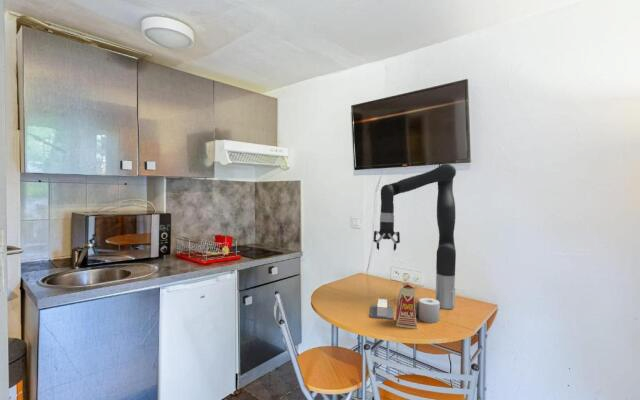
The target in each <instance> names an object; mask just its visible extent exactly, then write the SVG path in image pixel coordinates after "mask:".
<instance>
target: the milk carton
mask: <svg viewBox="0 0 640 400" xmlns="http://www.w3.org/2000/svg"><path fill="white" fill-rule="evenodd" d="M404 282H405V283H403V285H401V286H400V288H399V294H398V298H397V304H396V310H395V311H396V313H395V321H396V327H401V328H408V329H417V330H418V322H417V321H418V320H417V316H416V313H415V305H416V303H415V302H416V301H415V298H416V297H415V296H416V294H415V293H416V292H415V291H416V289H415V287H413V286H411V285H410V284H409V283H410V282H409V281H406V280H405V281H404Z"/></svg>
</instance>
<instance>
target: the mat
mask: <svg viewBox="0 0 640 400" xmlns="http://www.w3.org/2000/svg"><path fill="white" fill-rule="evenodd" d="M377 306H378V304H371V308H370V313H369V318H373V319H374V318H375V319H380V320H381V319H383V320H391V321H392V320H393V321H394V319H395V318H394V315H395V314H394V306H389V305H387V317H382V316H377Z"/></svg>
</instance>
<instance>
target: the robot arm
mask: <svg viewBox="0 0 640 400" xmlns="http://www.w3.org/2000/svg"><path fill="white" fill-rule="evenodd" d="M456 175H457V169H456V167H455V166H454V165H453V164H451V163H443V164H441V165H439V166H438V167H435V168H434V169H432V170H429V171H427V172H423V173H421V174H417V175H413V176H410V177H406V178H403V179H401V180H398V181H397V182H392V183H388V184H384V185H383V186H381V188H380V203H381V204H380V214H379V215H380V216H379V231H378V230H373V243H376V249H377V251H379V250H380V242H381V240H391V241H392V242H393V251H394V252H395V250H397V244H400V243H401V238H400V236H401V234H400V231H394V230H395V215H394V211H395V210H394V209H395V208H394V207H395V206H394V198H395V197H394V196H397V195H399V194H404V193H408V192H411V191H414V190H417V189H419V188H422V187H424V186H427V185H430V184H434V183H437V199H436V200H437V201H436V221H437V228H438V244H437V250H436V261H435V263H436V265H435V266H436V267H435V268H436V271H435V272H436V276H435V298H434V299H435V300H438V301H439V302H440V309H444V310H454V309H455V306H456V287H455V286H456V285H455V282H456V259H457V258H456V256H457V255H456V254H457V251H456V245H455V236H454V235H455V234H454V233H455V232H454V231H455V227H456V226H455V225H456V202H455V198H454V197H455V196H454V192H453V191H454V190H453V187H454V186H453V185H454V178H455V176H456ZM378 234H379V237H378V239H377V236H378ZM394 235H395V236H396V240H395V238H394Z"/></svg>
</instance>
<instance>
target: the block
mask: <svg viewBox="0 0 640 400" xmlns="http://www.w3.org/2000/svg"><path fill="white" fill-rule="evenodd" d="M377 305H378V306H377V316H382V317H387V306H388V299H386V298H377Z"/></svg>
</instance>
